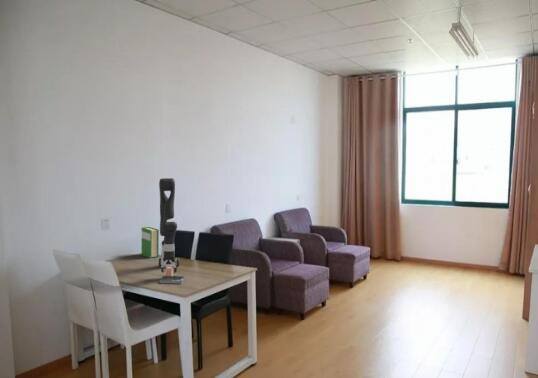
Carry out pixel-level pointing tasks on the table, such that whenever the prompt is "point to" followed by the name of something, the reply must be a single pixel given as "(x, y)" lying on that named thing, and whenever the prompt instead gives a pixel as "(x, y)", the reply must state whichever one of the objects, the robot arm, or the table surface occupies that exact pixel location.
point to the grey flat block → (172, 279)
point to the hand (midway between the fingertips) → (169, 272)
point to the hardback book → (150, 242)
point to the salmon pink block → (169, 271)
